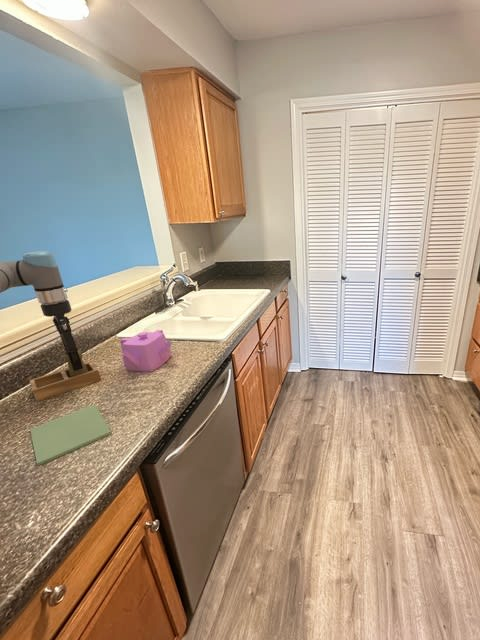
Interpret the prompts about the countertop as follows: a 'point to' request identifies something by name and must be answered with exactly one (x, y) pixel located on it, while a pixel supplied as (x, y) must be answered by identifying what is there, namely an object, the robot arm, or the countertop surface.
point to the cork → (71, 371)
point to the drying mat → (68, 433)
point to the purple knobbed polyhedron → (145, 351)
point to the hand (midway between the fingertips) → (76, 366)
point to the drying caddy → (62, 382)
